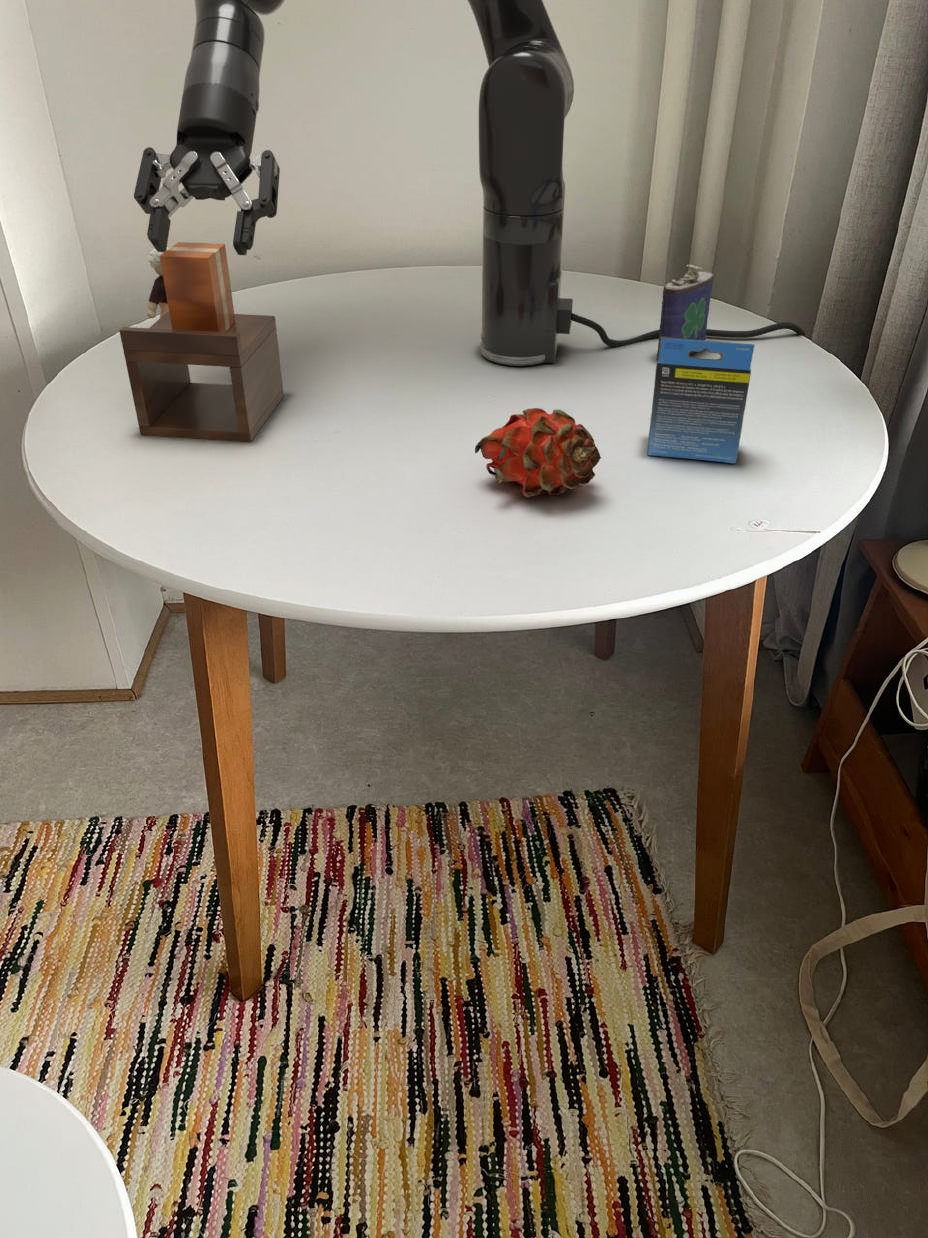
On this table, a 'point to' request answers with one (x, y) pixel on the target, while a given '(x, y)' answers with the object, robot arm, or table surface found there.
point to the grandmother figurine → (157, 287)
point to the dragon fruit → (541, 452)
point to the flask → (686, 306)
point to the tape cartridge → (699, 400)
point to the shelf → (204, 407)
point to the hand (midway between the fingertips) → (198, 249)
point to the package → (198, 287)
